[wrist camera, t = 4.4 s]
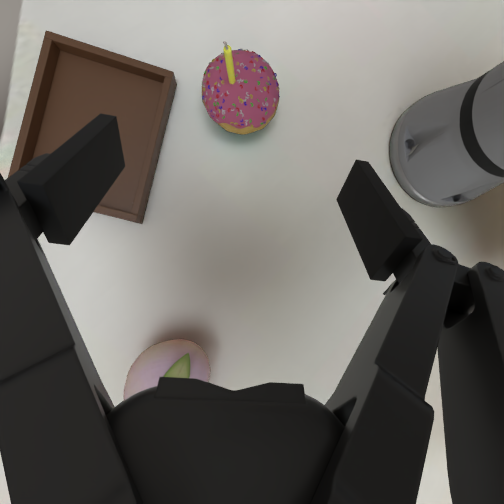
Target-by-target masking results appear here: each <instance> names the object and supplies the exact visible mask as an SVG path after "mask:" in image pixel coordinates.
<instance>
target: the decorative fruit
mask: <svg viewBox="0 0 504 504" xmlns="http://www.w3.org/2000/svg"><path fill="white" fill-rule="evenodd" d="M159 377H175V378H194V379H199V380H202V381H205V382H208V380H209V377H210V364H209V360H208V358H207V356H206V354H205V352H204V351H203V350H202V348H201V347H200V346H198V345H197V344H196V343H194V342H192V341H189V340H184V339H175V340H168V341H164V342H161V343H158V344H155V345H153V346H151V347H150V348H148V349H146V350H145V351H144V352H143V353H141V354H140V355H139V357H138V358H137V359H136V360H135V362H134V363H133V365H132V366H131V368H130V370H129V372H128V375H127V379H126V383H125V388H124V400H126V399H127V398H129V397H130V396H132V395H134V394H136V393H138V392H140V391H143V390H146V389H148V388H151V387H155V386H157V385H158V381H159Z"/></svg>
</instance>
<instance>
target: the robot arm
mask: <svg viewBox="0 0 504 504" xmlns="http://www.w3.org/2000/svg"><path fill="white" fill-rule="evenodd" d="M390 160H391V165H392V169H393V172H394V174H395V176H396V178H397V180H398V182H399V184H400V185H401V187H402V188H403V189H404V190H405V191H406V192H407V193H408V194H409V195H410V196H411V197H412V198H414V199H415V200H417V201H419V202H421V203H423V204H425V205H429V206H434V207H447V206H452V205H458V204H462V203H465V202H468V201H470V200H472V199H474V198H476V197H478V196H480V195H482V194H483V193H485V192H487V191H489V190H491V189H493V188H494V187H496V186H498V185H500V184H502V183H504V61H503V62H502V63H500V64H499V65H497V66H496V67H494V68H493V69H491V70H490V71H488V72H487V73H485V74H484V75H482V76H480V77H479V78H477V79H474V80H471V81H468V82H465V83H462V84H459V85H455V86H452V87H449V88H446V89H443V90H440V91H436V92H434V93H432V94H429V95H427V96H425V97H423V98H422V99H420V100H419V101H417V102H416V103H415V104H413V105H412V106H411V107H409V108H408V109H407V110H406V111H405V112H404V113H403V114H402V115H401V117H400V118H399V120H398V121H397V123H396V125H395V127H394V129H393V133H392V136H391V141H390ZM124 168H125V161H124V156H123V150H122V144H121V139H120V133H119V128H118V122H117V117H116V116H113V115H107V114H101V113H100V114H99V115H98V116H97V117H95V118H94V119H93V120H92V121H90V122H89V123H88V124H87V125H85V126H84V127H83V128H82V129H81V130H79V131H78V132H77V133H76V134H74V135H73V136H72V137H71V138H70V139H68V140H67V141H66V142H65V143H63V144H62V145H61V146H60V147H59V148H57V149H56V150H55V151H54V152H52V153H51V154H49V153H46V154H43V155H40V156H38V157H35V158H33V159H32V160H31V161H29V162H28V163H27V164H26V165H24V166H23V167H22V168H20V171H19V170H18V171H16V172H15V173H14V174H13V175H11V176H10V177H9V178H7V179H6V180H5V181H4V179H3V177H2V175H1V174H0V452H1V457H2V462H3V466H4V471H5V476H6V481H7V486H8V490H9V495H10V500H11V504H416V500H417V495H418V491H419V486H420V481H421V477H422V472H423V467H424V463H425V458H426V453H427V449H428V444H429V439H430V435H431V430H432V425H433V420H434V410H433V408H432V406H431V405H429V404H428V403H427V402H425V394H426V390H427V386H428V382H429V378H430V374H431V370H432V366H433V362H434V358H435V354H436V350H437V347H438V359H439V372H440V384H441V396H442V408H443V421H444V433H445V445H446V458H447V470H448V478H449V486H450V493H451V498H452V503H453V504H504V271H503V270H502V269H500V268H499V267H497V266H494V265H492V264H490V263H487V262H479V263H477V264H476V265H475V266H474V267H472V268H468V267H465V266H462V265H459V264H458V260H457V259H456V257H455V256H454V255H453V254H452V253H451V252H449V251H448V250H446V249H445V248H442V247H440V246H437V245H431V243H430V242H429V241H428V239H427V238H426V236H425V235H424V234H423V232H422V231H421V230H420V229H419V227H418V225H417V224H416V223H415V221H414V220H413V219H412V217H411V216H410V215H409V214H408V213H407V212H406V211H405V210H403V209H402V208H401V207H400V206H399V205H398V203H397V202H396V200H395V199H394V198H393V196H392V195H391V193H390V192H389V190H388V189H387V188H386V186H385V185H384V183H383V182H382V181H381V179H380V178H379V176H378V175H377V174H376V172H375V171H374V169H373V168H372V166H371V165H370V164H369V162H366V161H361V160H356V161H355V163H354V165H353V167H352V169H351V171H350V173H349V175H348V177H347V179H346V181H345V183H344V185H343V187H342V189H341V191H340V193H339V195H338V197H337V199H336V200H337V202H338V204H339V207H340V209H341V211H342V214H343V216H344V218H345V221H346V223H347V226H348V228H349V230H350V233H351V235H352V237H353V240H354V242H355V244H356V247H357V249H358V251H359V254H360V256H361V258H362V261H363V263H364V266H365V268H366V270H367V273H368V275H369V277H370V280H379V281H386V280H387V279H388V278H389V276H390V275H391V274H392V273H393V274H394V276H395V278H396V280H395V281H394V282H393V283H392V284H391V285H390V286H389V288H388V289H387V290H386V291H385V292H384V293H383V294H384V295H386V296H385V298H384V299H383V301H382V303H381V305H380V307H379V309H378V311H377V313H376V314H375V316H374V318H373V320H372V322H371V324H370V326H369V328H368V330H367V331H366V333H365V335H364V337H363V339H362V341H361V343H360V345H359V347H358V348H357V350H356V352H355V354H354V356H353V358H352V360H351V362H350V363H349V365H348V367H347V369H346V371H345V373H344V375H343V377H342V379H341V380H340V382H339V384H338V386H337V388H336V390H335V392H334V393H333V395H332V396H331V398H330V399H329V400H328V401H327V402H326V404H325V405H323V404H322V403H320V402H319V401H317V400H316V399H314V398H312V397H310V396H308V395H306V394H304V386H303V384H290V383H271V382H270V383H266V384H262V385H258V386H254V387H250V388H245V389H241V390H237V391H231V390H228V389H225V388H222V387H220V386H217V385H214V384H211V383H208V382H205V381H202V380H199V379H194V378H175V377H159V381H158V385H157V386H155V387H151V388H148V389H146V390H143V391H140V392H138V393H136V394H134V395H132V396H130V397H129V398H127V399H126V400H124V401H122V402H121V403H120V404H118V405H117V406H116V407H114V405H113V403H112V401H111V399H110V397H109V395H108V393H107V391H106V389H105V387H104V385H103V383H102V381H101V379H100V377H99V375H98V372H97V370H96V368H95V366H94V364H93V361H92V359H91V357H90V355H89V352H88V350H87V348H86V346H85V343H84V341H83V339H82V337H81V334H80V332H79V330H78V328H77V326H76V323H75V321H74V319H73V317H72V314H71V312H70V310H69V308H68V305H67V303H66V301H65V299H64V296H63V294H62V292H61V290H60V288H59V285H58V283H57V281H56V279H55V276H54V274H53V272H52V270H51V267H50V265H49V263H48V261H47V258H46V256H45V254H44V252H43V250H42V247H41V245H40V243H39V241H38V240H37V238H38V237H39V236H40V235H41V233H42V232H44V234H45V236H46V238H47V240H48V242H49V243H55V244H64V245H70V244H71V243H72V241H73V240H74V238H75V237H76V235H77V234H78V233H79V231H80V230H81V228H82V227H83V226H84V224H85V223H86V221H87V220H88V219H89V217H90V216H91V214H92V213H93V211H94V210H95V209H96V207H97V206H98V204H99V203H100V202H101V200H102V199H103V197H104V196H105V195H106V193H107V192H108V190H109V189H110V187H111V186H112V185H113V183H114V182H115V180H116V179H117V178H118V176H119V175H120V173H121V172H122V171H123V169H124Z"/></svg>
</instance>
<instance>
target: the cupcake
mask: <svg viewBox="0 0 504 504" xmlns="http://www.w3.org/2000/svg"><path fill="white" fill-rule="evenodd" d="M223 43H224V44H225V47H224V53H221V55H219V56H217V57H216V58H215V59H213V60H212V62H210V63H209V65H208V67H207V68H206V71H205V73H204V77H203V81H202V100H203V103H204V105H205V107H206V110H207V112H208V114H209V116H210V117H211V118H212V119H213V120H214V121H215V122H217V123H218V124H219V125H220V126H221V127H222V128H224V129H225V130H226V131H229V132H233V133H237V134H248V133H252V132H254V131H257V130H261V129H263V128H264V127H265V126H266V125H267V124H268V123H269V121H270V120H271V119H272V118H273V117H274V115H275V113H276V110H277V106H278V102H279V97H280V96H279V84H278V82H277V79H276V76H275V74H276V73H274V72H273V70H272V68H271V67H270V65H269V63H267V62H266V61H265V60H264V59H263V58H262V57H261V56H260V55H258V54H256V53H255V52H253V51H252V52H250V51H248V50H247V51H246V50H243V49H238V50H234V51H232V50H231V47H230V46H229V45H227V43H226V42H225V41H224V42H223Z"/></svg>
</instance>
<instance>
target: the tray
mask: <svg viewBox="0 0 504 504" xmlns="http://www.w3.org/2000/svg"><path fill="white" fill-rule="evenodd" d="M176 85H177V84H176V80H175V76H174V72H172V71H169V70H166V69H163V68H160V67H157V66H153V65H150V64H147V63H144V62H141V61H138V60H135V59H132V58H129V57H126V56H123V55H120V54H117V53H114V52H111V51H108V50H104V49H101V48H98V47H95V46H92V45H89V44H86V43H83V42H80V41H77V40H74V39H71V38H68V37H65V36H62V35H58V34H55V33H52V32H49V31H46V32H45V36H44V40H43V44H42V48H41V52H40V56H39V59H38V63H37V67H36V71H35V75H34V79H33V83H32V87H31V90H30V94H29V98H28V102H27V106H26V110H25V114H24V117H23V121H22V125H21V129H20V133H19V137H18V141H17V145H16V148H15V152H14V156H13V160H12V164H11V168H10V172H9V175H8V178H9V177H10V176H11V175H13V174H14V173H15V172H16V171H18V170H19V171H20V168H22V167H23V166H24V165H26V164H27V163H28V162H29V161H31V160H32V159H33V158H35V157H38V156H40V155H43V154H46V153H49V154H51V153H52V152H54V151H55V150H56V149H57V148H59V147H60V146H61V145H62V144H63V143H65V142H66V141H67V140H68V139H70V138H71V137H72V136H73V135H74V134H76V133H77V132H78V131H79V130H81V129H82V128H83V127H84V126H85V125H87V124H88V123H89V122H90V121H92V120H93V119H94V118H95V117H97V116H98V115H99V114H100V113H101V114H107V115H113V116H116V117H117V122H118V128H119V133H120V139H121V144H122V150H123V156H124V161H125V168H124V169H123V171H122V172H121V173H120V175H119V176H118V178H117V179H116V180H115V182H114V183H113V185H112V186H111V187H110V189H109V190H108V192H107V193H106V195H105V196H104V197H103V199H102V200H101V202H100V203H99V204H98V206H97V207H96V209H95V210H94V211H93V212H96V213H100V214H104V215H108V216H112V217H116V218H120V219H124V220H129V221H133V222H137V223H141V224H142V221H143V217H144V213H145V209H146V205H147V201H148V197H149V193H150V189H151V185H152V181H153V177H154V173H155V169H156V165H157V161H158V157H159V153H160V149H161V145H162V141H163V137H164V133H165V129H166V125H167V121H168V117H169V113H170V109H171V105H172V101H173V97H174V93H175V89H176Z"/></svg>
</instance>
